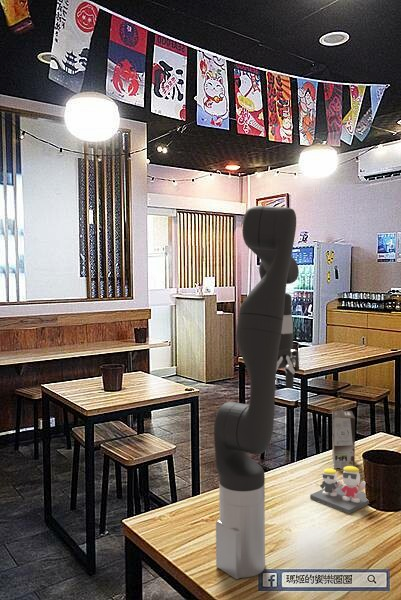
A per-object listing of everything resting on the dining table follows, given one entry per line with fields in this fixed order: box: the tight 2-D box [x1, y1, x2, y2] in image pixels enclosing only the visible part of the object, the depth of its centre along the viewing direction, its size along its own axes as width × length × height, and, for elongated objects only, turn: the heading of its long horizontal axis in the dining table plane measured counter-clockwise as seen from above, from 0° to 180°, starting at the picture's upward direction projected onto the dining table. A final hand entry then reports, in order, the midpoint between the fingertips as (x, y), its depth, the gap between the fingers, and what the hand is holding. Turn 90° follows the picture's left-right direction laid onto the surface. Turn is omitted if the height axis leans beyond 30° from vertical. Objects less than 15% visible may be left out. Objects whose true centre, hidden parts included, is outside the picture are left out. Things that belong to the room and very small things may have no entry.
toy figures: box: [319, 465, 366, 503], centre depth 134 cm, size 12×4×8 cm, turn 51°
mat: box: [309, 483, 370, 515], centre depth 135 cm, size 12×12×1 cm
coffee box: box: [331, 410, 356, 470], centre depth 160 cm, size 9×6×16 cm
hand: (279, 389), depth 140 cm, fingers open, 8 cm apart
